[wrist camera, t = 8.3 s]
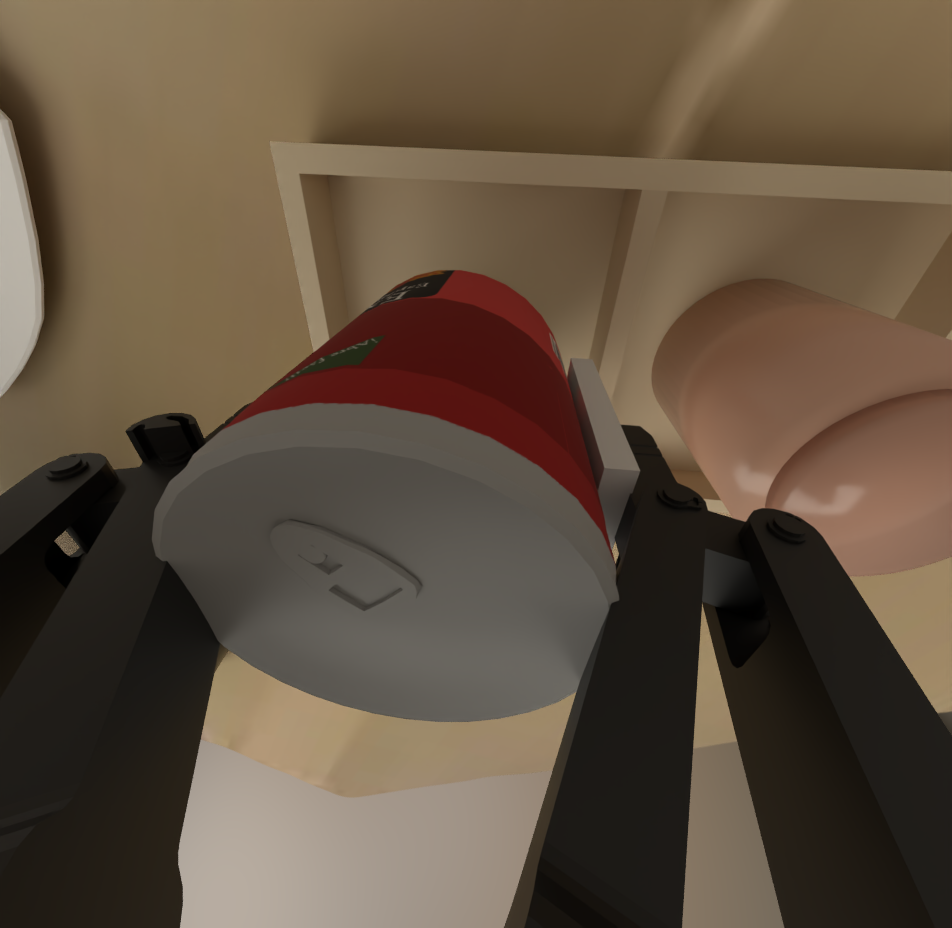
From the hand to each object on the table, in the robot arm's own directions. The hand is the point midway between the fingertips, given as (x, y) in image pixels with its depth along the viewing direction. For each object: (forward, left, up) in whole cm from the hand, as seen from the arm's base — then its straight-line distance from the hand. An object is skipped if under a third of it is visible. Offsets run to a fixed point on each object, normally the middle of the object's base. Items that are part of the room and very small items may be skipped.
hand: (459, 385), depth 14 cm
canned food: (0, 0, -1) cm, 1 cm away
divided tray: (+6, 0, -5) cm, 8 cm away
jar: (+12, 0, -5) cm, 13 cm away
